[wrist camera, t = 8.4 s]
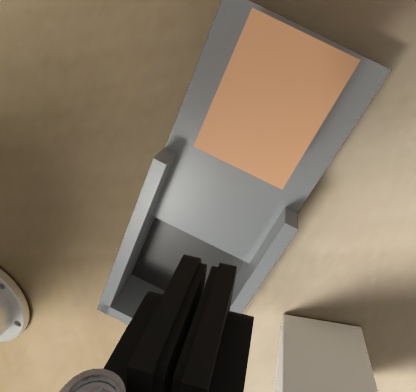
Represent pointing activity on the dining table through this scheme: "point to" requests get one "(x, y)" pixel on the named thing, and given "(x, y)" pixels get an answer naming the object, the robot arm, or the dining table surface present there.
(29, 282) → the dining table surface
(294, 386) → the milk carton
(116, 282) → the gray cradle tray
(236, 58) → the block
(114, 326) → the dining table surface
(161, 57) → the dining table surface
